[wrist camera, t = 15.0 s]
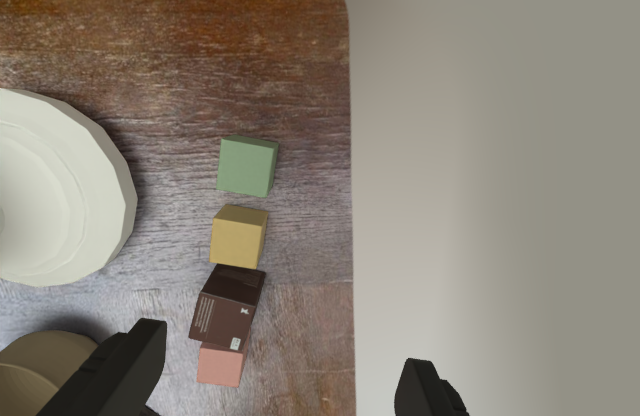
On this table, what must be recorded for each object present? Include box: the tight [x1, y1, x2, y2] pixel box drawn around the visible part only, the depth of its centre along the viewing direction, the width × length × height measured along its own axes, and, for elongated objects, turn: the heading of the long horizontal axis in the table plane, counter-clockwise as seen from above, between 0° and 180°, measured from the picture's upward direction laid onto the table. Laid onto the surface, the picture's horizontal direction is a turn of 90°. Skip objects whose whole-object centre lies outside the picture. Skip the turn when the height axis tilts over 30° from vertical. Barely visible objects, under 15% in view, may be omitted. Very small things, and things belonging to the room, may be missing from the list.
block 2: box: [209, 204, 268, 269], centre depth 37 cm, size 5×5×5 cm
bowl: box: [0, 330, 98, 416], centre depth 39 cm, size 13×13×10 cm
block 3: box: [197, 327, 251, 388], centre depth 41 cm, size 5×5×5 cm
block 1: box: [216, 135, 279, 198], centre depth 35 cm, size 5×5×5 cm
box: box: [188, 263, 266, 351], centre depth 38 cm, size 6×6×7 cm
